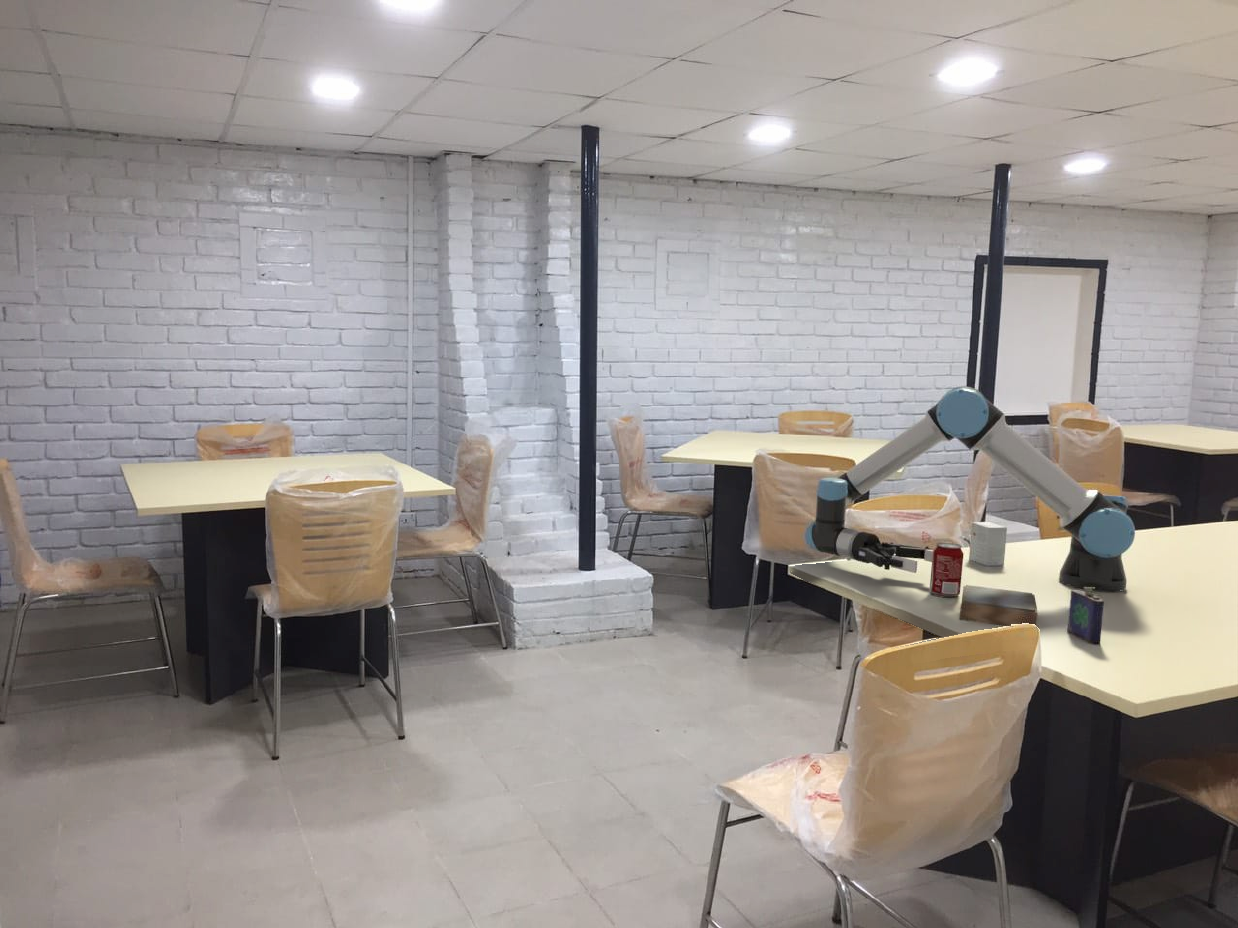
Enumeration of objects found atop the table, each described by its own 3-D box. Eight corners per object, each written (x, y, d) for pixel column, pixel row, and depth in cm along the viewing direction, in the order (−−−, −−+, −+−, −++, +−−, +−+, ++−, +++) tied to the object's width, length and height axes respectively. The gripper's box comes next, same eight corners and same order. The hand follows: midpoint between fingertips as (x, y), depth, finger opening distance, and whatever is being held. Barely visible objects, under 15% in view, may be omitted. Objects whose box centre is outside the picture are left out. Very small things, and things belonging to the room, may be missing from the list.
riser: (1032, 610, 217) (1034, 592, 216) (1035, 629, 202) (1037, 610, 201) (961, 601, 222) (963, 584, 221) (959, 619, 207) (961, 601, 206)
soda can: (961, 599, 223) (966, 548, 221) (930, 596, 224) (935, 546, 223) (957, 592, 230) (962, 542, 228) (927, 589, 231) (932, 540, 229)
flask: (1064, 630, 202) (1069, 580, 201) (1077, 630, 202) (1082, 580, 201) (1091, 645, 193) (1097, 592, 192) (1104, 645, 193) (1111, 593, 192)
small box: (1004, 565, 260) (1007, 527, 258) (985, 566, 258) (989, 527, 257) (985, 558, 267) (989, 521, 266) (968, 559, 266) (971, 521, 264)
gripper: (887, 554, 253) (960, 572, 237) (826, 566, 237) (900, 586, 221) (890, 526, 252) (963, 542, 236) (828, 536, 236) (902, 553, 220)
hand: (933, 563), depth 228 cm, fingers open, 13 cm apart
